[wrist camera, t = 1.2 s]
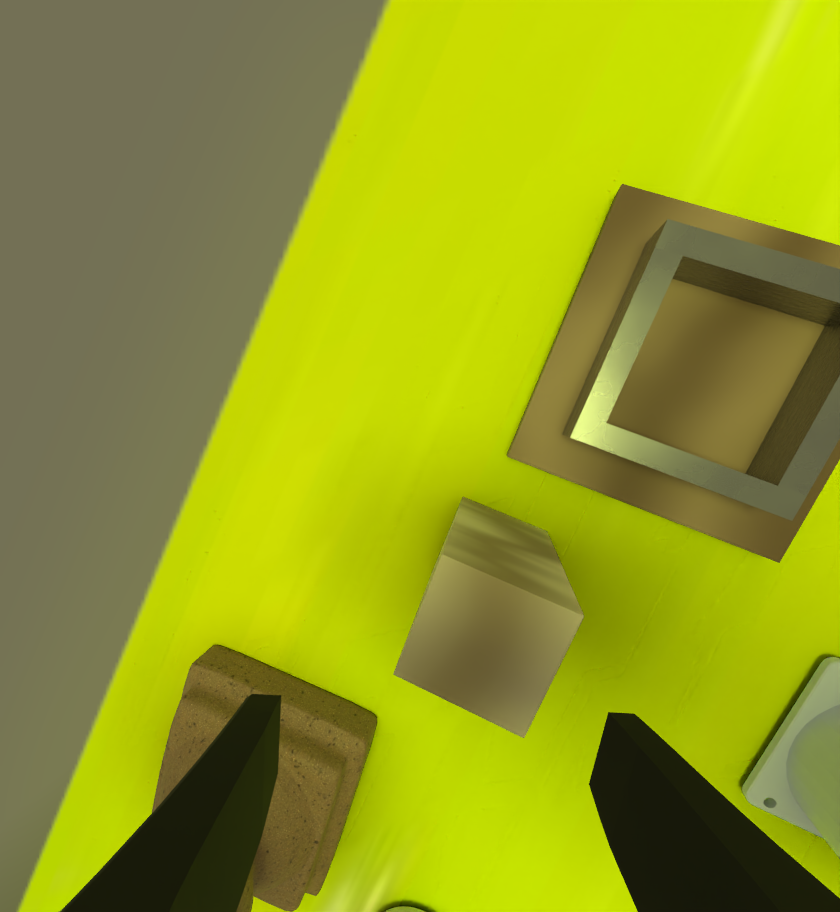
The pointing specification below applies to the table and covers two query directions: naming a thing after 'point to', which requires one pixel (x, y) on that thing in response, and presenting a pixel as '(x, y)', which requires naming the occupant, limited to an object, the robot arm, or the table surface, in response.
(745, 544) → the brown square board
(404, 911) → the supplement bottle
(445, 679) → the tan rectangular block
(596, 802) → the robot arm
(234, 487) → the table surface
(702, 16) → the table surface
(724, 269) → the gray square frame
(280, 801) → the candle holder
